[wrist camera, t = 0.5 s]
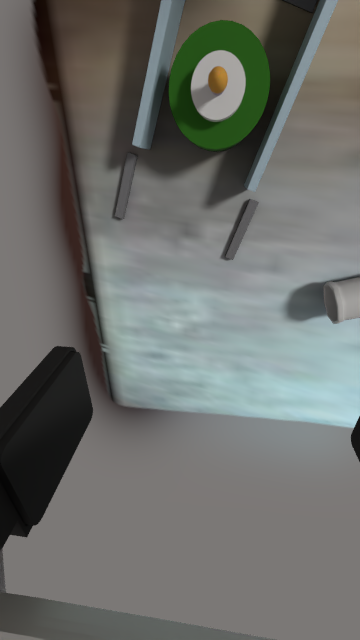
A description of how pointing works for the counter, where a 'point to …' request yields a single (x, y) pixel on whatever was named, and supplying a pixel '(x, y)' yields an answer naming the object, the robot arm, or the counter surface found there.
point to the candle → (219, 85)
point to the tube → (342, 299)
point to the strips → (124, 197)
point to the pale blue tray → (162, 58)
